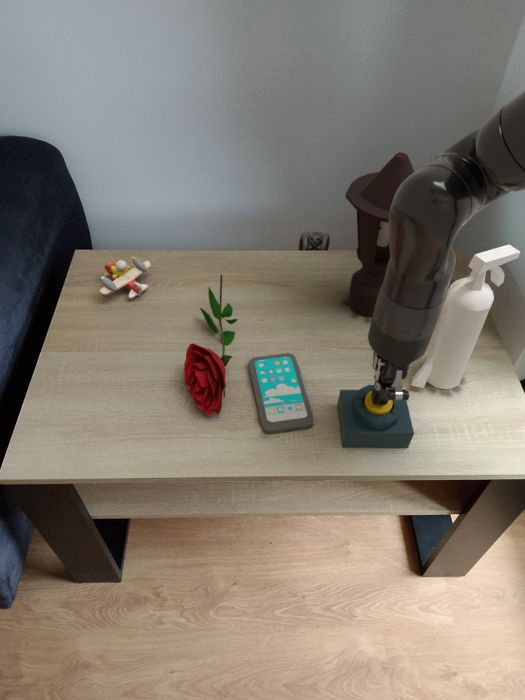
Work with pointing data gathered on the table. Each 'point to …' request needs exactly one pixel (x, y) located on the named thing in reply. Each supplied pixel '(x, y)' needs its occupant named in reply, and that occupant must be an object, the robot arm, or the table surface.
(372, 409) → the button
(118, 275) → the toy airplane
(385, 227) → the lantern
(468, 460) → the table surface
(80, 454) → the table surface
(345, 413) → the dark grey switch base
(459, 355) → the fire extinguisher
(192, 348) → the flower
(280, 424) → the smartphone
